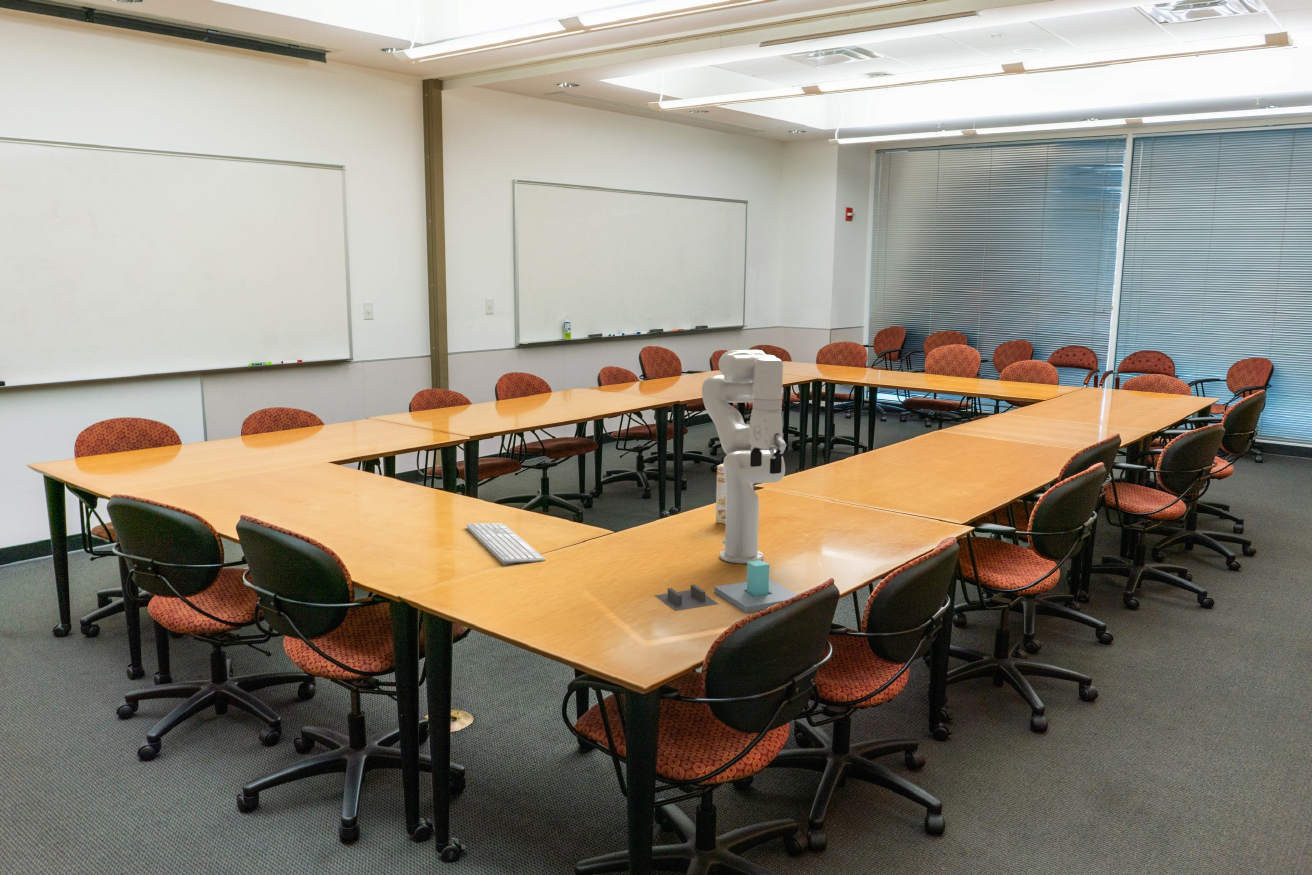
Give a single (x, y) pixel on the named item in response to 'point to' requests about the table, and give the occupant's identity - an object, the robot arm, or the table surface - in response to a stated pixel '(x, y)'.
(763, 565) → the plug
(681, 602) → the dark grey holder stand
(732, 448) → the robot arm
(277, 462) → the table surface
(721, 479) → the coffeecake box
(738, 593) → the plate
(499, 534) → the keyboard
